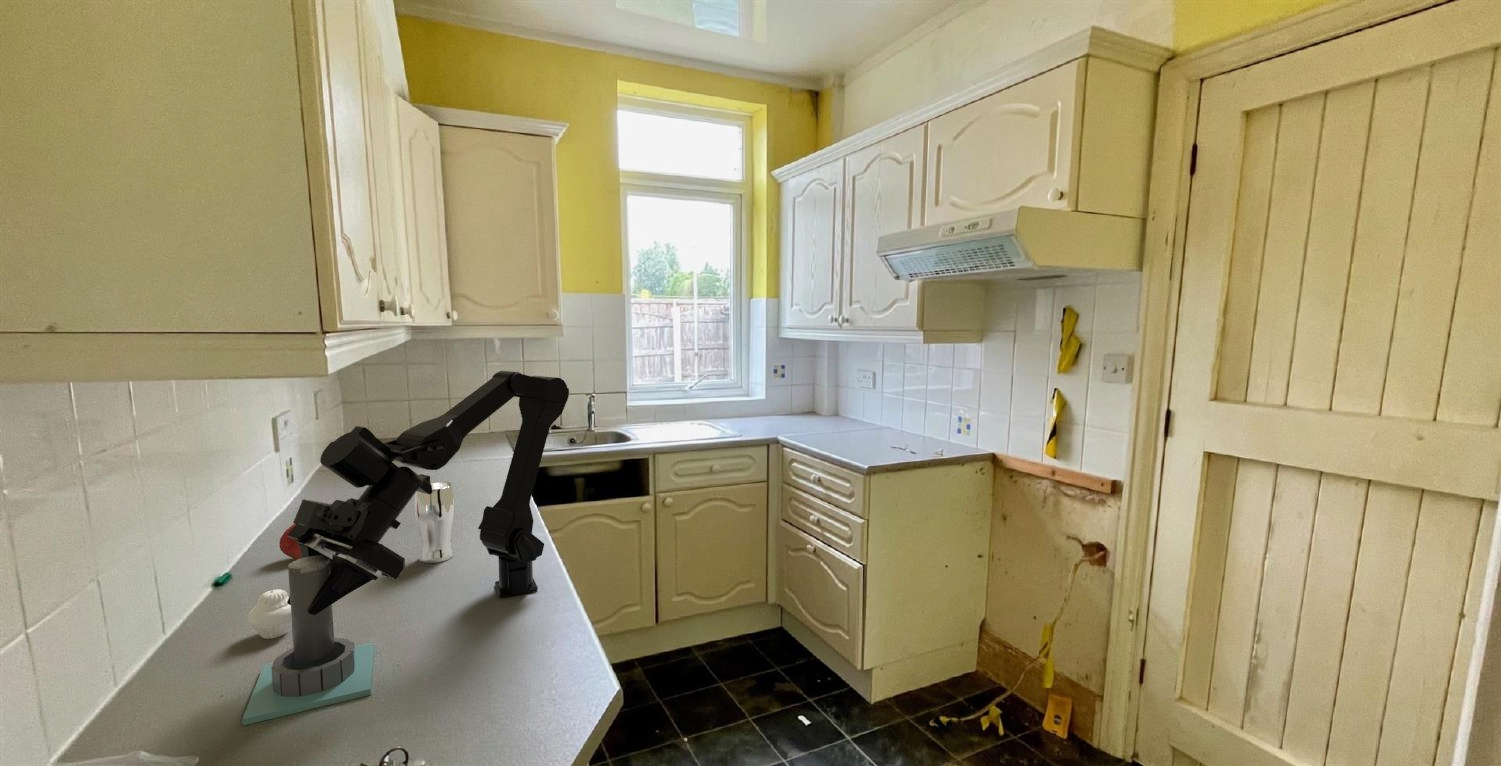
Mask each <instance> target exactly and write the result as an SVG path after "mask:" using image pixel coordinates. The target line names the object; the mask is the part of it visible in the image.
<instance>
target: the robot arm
mask: <svg viewBox="0 0 1501 766" xmlns="http://www.w3.org/2000/svg"><path fill="white" fill-rule="evenodd" d="M491 377H492V378H490V379H489V380H488V381H486V382H485V383H483V384H482V385H480V387H478V388H477V389H476V390H474V391H473V392H472V393H470V394H469V395H467V396H466V397H465V398H464V399H463V400H461V401H459V402H458V403H457V404H455V405H454V406H453V407H451V408H450V409H449V410H448V411H446V412H445V413H444V414H442V415H440V416H438V417H435V418H431V419H428V420H426V421H422V422H420V423H418V424H416V425H414V426H412V427H410V428H408V429H406V430H405V431H402V432H401V433H400V434H399V435H398V436H397V438H395V439H391V440H388V441H385V442H382V440H380V439H379V438H377V437H376V436H375V435H374V433H373V432H372V431H371V430H369V428H367V427H364V426H361V425H356V426H355V427H354V428H353V429H352V430H351V431H349V432H347V433H345V434H343V435H341V436H339V437H338V438H336V439H335V440H334V441H331V442H330V443H329V444H328V445H327V446H326V447H325V449H324V450H323V451H322V453H321V456H320V459H319V460H320V461H319V462H320V464H321V465H322V466H323V467H325V468H327V469H328V470H329V471H331V472H333V473H334V474H335V475H337V476H338V477H339V478H340V479H342V480H344V481H345V482H347V483H348V484H350V485H352V486H353V487H354V488H357V489H358V488H363V487H366V489H365V490H364V491H363V492H362V493H361V495H360V496H359V498H358V499H356V498H354V497H353V498H349V499H347V500H346V501H345V500H344V501H343V500H340V499H335V500H334V501H333V502H332V503H327V502H322V501H315V500H311V499H310V500H309V499H302V500H301V502H300V505H299V508H298V510H297V513H296V515H295V517H294V520H293V524H294V523H295V524H296V525H295V526H294V527H293V529H292V530H291V531H290V532H289V533H288V535H287V536H288V537H290V538H292V539H294V540H295V541H297V542H299V543H298V548H300V549H301V554H302V558H304V557H309V556H327V557H329V560H330V575H329V577H328V578H327V580H326V581H325V583H324V584H323V586H322V587H321V589H320V590H319V592H318V594H317V595H316V597H315V598H314V600H313V601H312V603H311V605H310V607H309V608H308V610H307V612H308V613H310V614H312V615H316V614H318V613H319V612H321V611H322V610H324V609H325V608H327V607H328V606H330V605H332V606H333V604H335V603H336V602H338V601H339V600H340V599H343V598H344V597H346V596H347V595H349V594H350V593H353V592H354V591H356V590H358V589H359V588H361V587H363V586H364V585H366V584H369V582H371V581H374V582H375V581H377V580H378V579H379V577H378V576H377V575H376V573H377V572H378V571H379V572H380V573H381V576H383V577H385V578H388V579H391V580H394V581H397V580H398V579H399V578H400V576H401V574H402V573H403V571H405V568H406V559H405V558H404V557H403V556H402V555H399V553H397V552H396V551H393V550H392V549H391V548H388V547H387V546H385V545H384V544H382V543H380V542H381V541H382V539H383V537H385V535H386V534H387V532H388V531H389V530H390V529H393V530H397V529H398V528H399V526H401V522H400V521H398V520H397V519H398V517H399V516H400V515H401V513H402V512H403V510H404V509H405V508H406V506H407V505H408V504H409V503H410V501H411V500H412V498H413V497H415V493H416V492H422V493H426V494H431V493H432V492H433V491H432V486H431V483H430V482H431V476H430V475H428V474H427V475H426V474H423V473H420V474H418V473H417V472H415V471H414V470H413V469H411V468H410V467H414V468H417V469H422V470H428V471H438V470H440V469H442V468H443V467H445V466H446V465H447V464H448V463H449V462H450V460H452V459H453V457H455V455H456V454H457V453H458V452H459V450H460V449H461V446H462V443H463V442H464V441H463V440H464V439H465V438H466V437H467V436H468V435H469V433H471V432H472V431H473V430H475V429H476V428H477V427H478V426H480V425H481V424H482V423H483V422H485V421H486V420H487V419H488V418H490V417H491V416H492V415H493V414H495V413H496V412H497V411H498V410H500V409H501V408H502V407H503V406H505V405H506V404H507V403H508V402H510V401H511V400H512V399H513V398H514V397H516V398H519V399H518V408H519V412H520V415H521V425H520V429H519V432H518V436H517V440H516V441H515V446H514V450H513V453H512V458H511V461H510V464H509V468H508V470H507V471H508V472H507V474H506V479H505V481H504V486H503V488H502V489H503V490H502V492H501V493H502V494H501V496H500V498H499V500H497V502H495V504H494V505H493V506H488V505H487V506H485V508H484V509H483V513H482V514H483V515H482V520H481V522H480V524H479V526H478V527H477V529H478V530H480V532H479V540H480V541H481V543H482V545H483V546H484V547H486V550H487V552H488V554H489V555H490V556H495V557H498V580H496V581H495V582H494V587H495V589H496V592H497V595H498V597H499V598H506V597H512V596H518V595H522V594H526V593H527V594H528V593H532V592H537V591H538V589H539V588H538V585H537V583H536V581H535V579H534V577H533V575H534V573H533V572H534V571H533V570H534V569H533V566H534V565H533V562H534V561H536V560H537V559H538V558H539V557H541V556H542V555H543V551H544V547H545V543H544V542H543V541H542V540H540V539H539V538H538V537H537V536H536V535H534V534H533V527H534V518H533V513H532V509H531V505H530V504H531V499H532V494H533V492H534V488H535V484H536V481H537V476H538V472H539V469H540V464H541V461H542V459H543V455H544V454H543V453H544V452H545V451H544V450H545V446H546V444H547V443H546V442H547V439H548V435H549V432H550V428H551V426H552V425H553V424H554V423H555V422H556V420H558V418H560V416H561V415H562V414H563V413H564V409H565V407H566V405H567V402H568V400H569V395H570V390H569V389H570V388H569V387H568V386H567V383H566V382H565V380H564V379H562V378H560V377H557V376H556V377H554V376H542V375H527V374H524V373H521V372H519V371H510V370H500V371H498V372H495V373H494V374H493V375H492V376H491ZM394 461H395V462H400V464H402V465H405V466H398V465H396V464H395V463H394ZM408 466H409V467H408ZM339 555H342V556H345V557H341V556H339ZM288 597H289V599H288V601H287V603H288V604H289V605H291V603H290V595H289V596H288Z"/></svg>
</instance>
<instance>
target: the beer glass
mask: <svg viewBox="0 0 1501 766" xmlns="http://www.w3.org/2000/svg"><path fill="white" fill-rule="evenodd" d="M430 483H431V486H432V491H433V492H432V493H431V494H426V493H422V492H416V493H415V494H414V513H415V514H414V515H415V519H416V525H417V528H418V532H419V538H420V553H419V561H420V563H422V564H438V563H442V562H446V561H448V560H450V559H452V558H453V557H454V556H453V555H454V552H453V549H452V545H451V532H452V527H453V520H454V512H455V502H454V491H453V484H452V482H449V481H443V480H442V481H430Z"/></svg>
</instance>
